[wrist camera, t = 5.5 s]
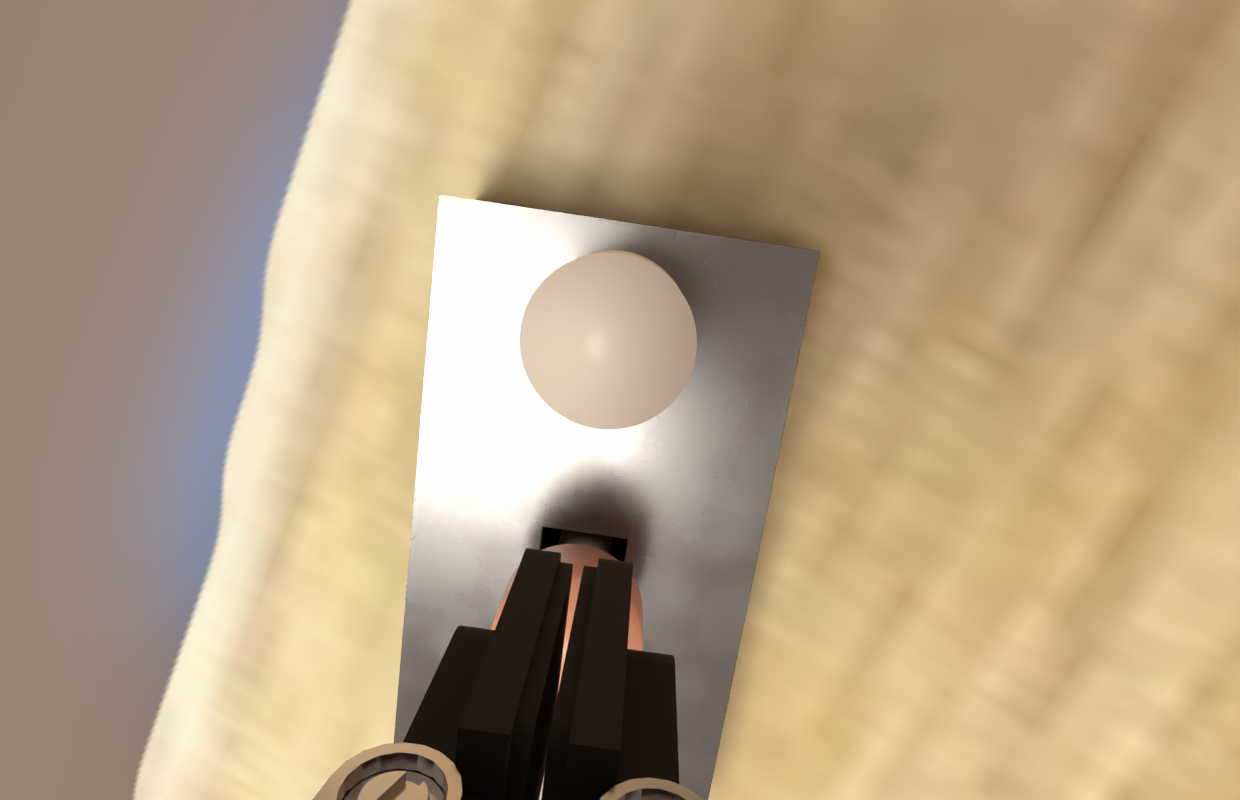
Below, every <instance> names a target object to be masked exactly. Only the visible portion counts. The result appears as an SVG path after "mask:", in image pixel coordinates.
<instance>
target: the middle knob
mask: <svg viewBox="0 0 1240 800" xmlns="http://www.w3.org/2000/svg"><path fill="white" fill-rule="evenodd" d="M543 550H545V551H552V552H559V553H561V562H563V563H570V564H573V572H572V580H571V589H570V597H569V605H568V613H567V622H566V630H565V638H564V646H563V655H562V663H561V671H560V679H559V686H560V681H561V676H562V671H563V666H564V661H565V656H566V652H567V647H568V642H569V637H570V632H571V627H572V622H573V617H574V612H575V607H576V602H577V597H578V592H579V587H580V582H581V577H582V572H583V568H584V565H585V566H592V567H598V561H599V558H602V559H609V560H616V561H618V560H617V559H616V558H614V557H613V556H611V555H610V552H611V536H605V535H598V534H591V533H584V532H578V531H571V530H564V529H563V530H562V532H561V534H560V538H559V541H558V545H555V546H551V547H548V548H545V549H543ZM518 568H519V567H518ZM518 568H517V569H516V570H515V572H514V573H513V575H512V576H511V578H510V580H509V582H508V585H507V587H506V590H505V593H504V595H503V598H502V601H501V603H500V606H499V608H498V611H497V614H496V616H495V619H494V621H493V624H492V627H491V629H490V630H495V628H496V626H497V623H498V621H499V618H500V615H501V613H502V610H503V607H504V605H505V602H506V599H507V597H508V594H509V591H510V589H511V586H512V583H513V581H514V578H515V576H516V573H517V570H518ZM642 645H643V609H642V599H641V594H640V591H639V588H638V585H637V583H636V581H635V579H634V578H633V576H632V589H631V604H630V619H629V633H628V648H627V649H632V650H639V651H642ZM558 691H559V688H558Z"/></svg>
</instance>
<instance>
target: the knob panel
mask: <svg viewBox="0 0 1240 800" xmlns="http://www.w3.org/2000/svg"><path fill="white" fill-rule="evenodd" d="M605 250H620V251H627V252H632V253H635V254H638V255H641V256H644V257H645V258H647V259H649V260H651V261H653V262H654V263H656V264H657V265H659V266H660V267H661V268H662V269H664V270H665V271H666V272H667V273H668V274H669V275H670V276H671V278H672V279H673V280H674V281H675V283H676V284H677V286H678V288H679V289H680V291H681V292H682V294H683V296H684V297H685V299H686V300H687V303H688V305H689V307H690V309H691V312H692V315H693V318H694V321H695V327H696V333H697V350H696V358H695V362H694V367H693V370H692V372H691V375H690V378H689V380H688V382H687V383H686V385H685V387H684V389H683V390H682V392H681V393H680V394H679V396H678V397H677V398H676V399H675V401H674V402H673V403H672V404H671V405H670V406H669V407H668V408H666V409H665V410H664V411H663V412H661V413H660V414H658V415H657V416H655V417H654V418H652V419H650V420H648V421H646V422H644V423H641V424H639V425H635V426H632V427H628V428H622V429H610V430H606V429H595V428H590V427H586V426H582V425H580V424H577V423H574V422H572V421H570V420H568V419H566V418H564V417H562V416H561V415H559V414H558V413H556V412H555V411H554V410H553V409H551V408H550V407H549V406H548V405H547V404H546V403H545V402H544V401H543V400H542V399H541V398H540V397H539V395H538V394H537V393H536V391H535V390H534V388H533V387H532V385H531V383H530V381H529V379H528V377H527V375H526V372H525V370H524V367H523V363H522V359H521V354H520V343H519V342H520V328H521V323H522V318H523V315H524V312H525V309H526V307H527V305H528V302H529V300H530V298H531V297H532V295H533V294H534V292H535V291H536V289H537V288H538V287H539V285H540V284H541V283H542V282H543V281H544V280H545V279H546V278H547V277H548V276H549V275H550V274H551V273H553V272H554V271H555V270H557V269H558V268H560V267H561V266H563V265H565V264H567V263H569V262H571V261H573V260H575V259H577V258H580V257H582V256H584V255H587V254H590V253H593V252H599V251H605ZM819 252H820V251H818V250H811V249H804V248H797V247H790V246H784V245H777V244H770V243H763V242H757V241H750V240H743V239H736V238H730V237H723V236H716V235H709V234H703V233H696V232H689V231H682V230H676V229H669V228H662V227H655V226H649V225H642V224H635V223H628V222H622V221H615V220H608V219H601V218H594V217H588V216H581V215H574V214H567V213H561V212H554V211H547V210H540V209H534V208H527V207H520V206H513V205H507V204H500V203H493V202H486V201H480V200H473V199H466V198H459V197H453V196H446V195H439V203H438V215H437V227H436V239H435V251H434V263H433V275H432V288H431V300H430V312H429V324H428V336H427V348H426V360H425V372H424V384H423V396H422V408H421V421H420V433H419V445H418V457H417V469H416V481H415V493H414V505H413V517H412V529H411V541H410V554H409V566H408V578H407V590H406V602H405V614H404V626H403V638H402V650H401V662H400V674H399V687H398V699H397V711H396V723H395V735H394V743H403V741H404V738H405V736H406V734H407V732H408V730H409V728H410V726H411V724H412V721H413V719H414V717H415V715H416V713H417V711H418V709H419V706H420V704H421V702H422V700H423V698H424V696H425V694H426V692H427V689H428V687H429V685H430V683H431V681H432V679H433V677H434V675H435V672H436V670H437V668H438V666H439V664H440V662H441V660H442V657H443V655H444V653H445V651H446V649H447V647H448V645H449V643H450V640H451V638H452V636H453V634H454V632H455V630H456V629H457V627H458V626H460V625H462V626H469V627H476V628H483V629H491V627H492V624H493V621H494V619H495V616H496V614H497V611H498V608H499V606H500V603H501V601H502V598H503V595H504V593H505V590H506V587H507V585H508V582H509V580H510V578H511V576H512V575H513V573H514V572H515V570H516V569H517V568H518V567H519V565H520V562H521V560H522V557H523V554H524V552H525V550H526V548H530V549H537V550H542V544H543V536H544V528H545V527H550V528H557V529H564V530H571V531H578V532H584V533H591V534H598V535H605V536H612V537H618V538H625V539H627V543H626V549H625V556H624V562H631V563H633V575H632V576H633V578H634V579H635V581H636V583H637V585H638V588H639V591H640V594H641V599H642V609H643V645H642V651H646V652H654V653H661V654H668V655H673V656H674V658H675V676H676V703H677V731H678V759H679V785H682V786H684V787H687V788H688V789H690V790H691V791H693V792H694V793H695V794H697V795H698V796H700V797H701V798H702V799H704V800H708V797H709V792H710V787H711V782H712V778H713V773H714V768H715V763H716V758H717V753H718V748H719V743H720V738H721V733H722V728H723V724H724V719H725V714H726V709H727V704H728V699H729V694H730V689H731V684H732V679H733V675H734V670H735V665H736V660H737V655H738V650H739V645H740V640H741V635H742V630H743V625H744V621H745V616H746V611H747V606H748V601H749V596H750V591H751V586H752V581H753V576H754V571H755V567H756V562H757V557H758V552H759V547H760V542H761V537H762V532H763V527H764V522H765V517H766V513H767V508H768V503H769V498H770V493H771V488H772V483H773V478H774V473H775V468H776V464H777V459H778V454H779V449H780V444H781V439H782V434H783V429H784V424H785V419H786V414H787V410H788V405H789V400H790V395H791V390H792V385H793V380H794V375H795V370H796V365H797V360H798V356H799V351H800V346H801V341H802V336H803V331H804V326H805V321H806V316H807V311H808V306H809V302H810V297H811V292H812V287H813V282H814V277H815V272H816V267H817V262H818V257H819Z"/></svg>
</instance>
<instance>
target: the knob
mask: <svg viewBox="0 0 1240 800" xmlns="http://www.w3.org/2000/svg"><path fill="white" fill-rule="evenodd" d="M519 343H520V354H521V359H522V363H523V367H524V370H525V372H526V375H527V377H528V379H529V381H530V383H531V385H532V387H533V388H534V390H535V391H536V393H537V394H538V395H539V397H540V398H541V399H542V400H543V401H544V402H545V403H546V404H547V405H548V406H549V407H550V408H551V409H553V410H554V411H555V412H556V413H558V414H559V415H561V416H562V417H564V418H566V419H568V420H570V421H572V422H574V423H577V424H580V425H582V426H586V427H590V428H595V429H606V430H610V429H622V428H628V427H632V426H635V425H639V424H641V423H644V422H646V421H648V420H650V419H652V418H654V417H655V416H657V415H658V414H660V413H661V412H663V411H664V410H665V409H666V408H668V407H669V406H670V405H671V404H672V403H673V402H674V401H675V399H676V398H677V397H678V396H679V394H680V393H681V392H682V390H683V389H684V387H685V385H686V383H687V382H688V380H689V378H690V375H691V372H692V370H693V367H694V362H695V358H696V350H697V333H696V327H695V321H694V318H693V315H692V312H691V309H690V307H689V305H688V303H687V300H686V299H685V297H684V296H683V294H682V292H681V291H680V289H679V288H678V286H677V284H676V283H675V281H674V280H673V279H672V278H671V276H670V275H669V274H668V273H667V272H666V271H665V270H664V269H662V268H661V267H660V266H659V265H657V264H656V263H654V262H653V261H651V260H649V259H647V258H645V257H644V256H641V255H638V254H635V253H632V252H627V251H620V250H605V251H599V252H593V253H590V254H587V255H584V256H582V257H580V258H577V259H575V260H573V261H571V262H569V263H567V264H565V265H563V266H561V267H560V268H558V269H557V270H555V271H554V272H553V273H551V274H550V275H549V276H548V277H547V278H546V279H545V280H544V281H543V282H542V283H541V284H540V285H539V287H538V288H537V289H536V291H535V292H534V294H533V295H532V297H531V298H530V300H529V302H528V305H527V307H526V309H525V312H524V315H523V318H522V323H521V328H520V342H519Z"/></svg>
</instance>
